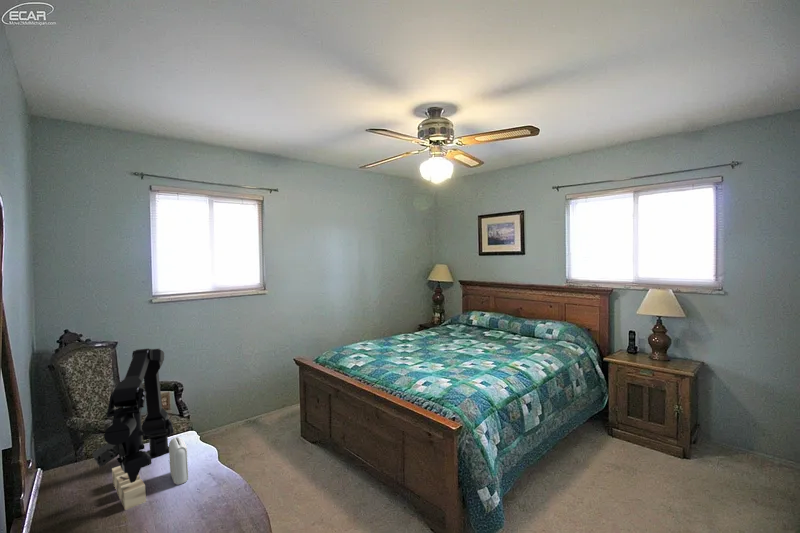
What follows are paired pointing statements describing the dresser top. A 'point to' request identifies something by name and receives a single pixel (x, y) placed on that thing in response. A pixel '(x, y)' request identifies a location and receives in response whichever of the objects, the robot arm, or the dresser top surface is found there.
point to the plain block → (133, 494)
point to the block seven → (123, 482)
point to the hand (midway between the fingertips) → (132, 481)
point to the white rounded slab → (178, 460)
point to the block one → (116, 474)
